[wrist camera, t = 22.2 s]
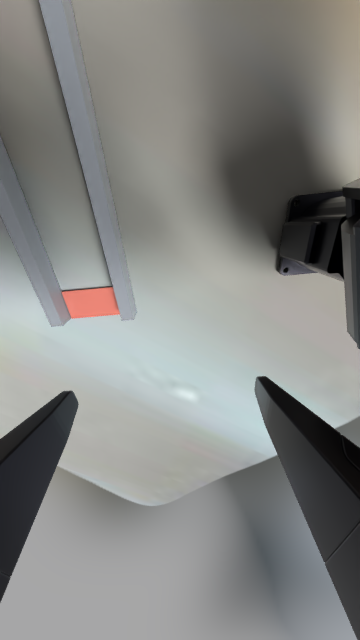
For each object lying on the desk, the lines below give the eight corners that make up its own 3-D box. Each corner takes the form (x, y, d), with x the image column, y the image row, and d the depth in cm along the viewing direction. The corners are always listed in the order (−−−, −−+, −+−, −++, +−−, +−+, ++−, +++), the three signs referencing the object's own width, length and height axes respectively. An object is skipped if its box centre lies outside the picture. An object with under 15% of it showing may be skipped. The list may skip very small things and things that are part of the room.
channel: (45, -119, 10) (19, -187, 8) (136, 312, 21) (133, 319, 19) (-114, -95, 10) (-170, -156, 8) (61, 318, 21) (51, 326, 19)
